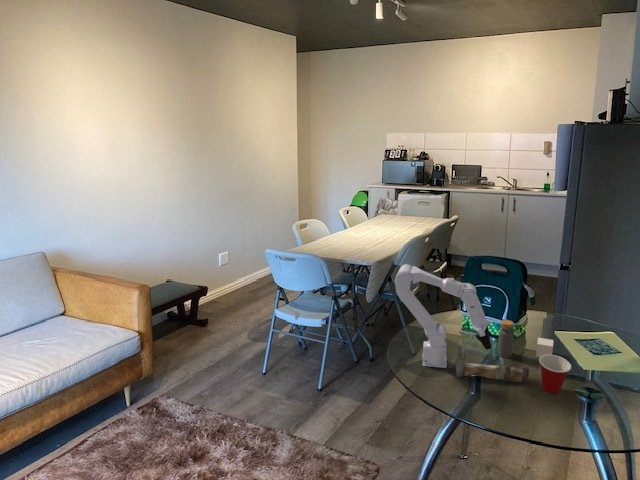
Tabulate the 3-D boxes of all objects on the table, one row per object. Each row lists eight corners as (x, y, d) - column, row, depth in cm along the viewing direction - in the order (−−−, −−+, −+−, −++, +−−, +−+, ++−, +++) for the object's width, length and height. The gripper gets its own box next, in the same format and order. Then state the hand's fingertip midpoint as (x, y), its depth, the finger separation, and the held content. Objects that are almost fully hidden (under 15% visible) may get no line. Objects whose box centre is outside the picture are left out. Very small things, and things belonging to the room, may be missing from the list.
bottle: (513, 358, 206) (516, 325, 202) (498, 357, 207) (501, 324, 203) (510, 351, 212) (513, 319, 207) (496, 350, 213) (499, 318, 209)
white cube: (535, 356, 207) (537, 343, 206) (536, 350, 212) (537, 337, 211) (551, 359, 205) (553, 346, 203) (552, 352, 210) (553, 339, 208)
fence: (503, 381, 190) (504, 368, 189) (502, 377, 193) (503, 364, 191) (528, 383, 188) (529, 370, 187) (527, 380, 191) (528, 367, 189)
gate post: (455, 376, 194) (456, 363, 193) (455, 372, 197) (456, 360, 195) (463, 377, 194) (464, 364, 192) (463, 373, 196) (463, 360, 195)
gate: (464, 376, 194) (465, 364, 193) (464, 373, 196) (464, 362, 194) (498, 379, 191) (499, 367, 190) (497, 377, 193) (498, 365, 191)
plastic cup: (554, 402, 177) (558, 372, 174) (529, 387, 186) (532, 359, 183) (574, 393, 182) (578, 364, 178) (549, 379, 191) (552, 351, 188)
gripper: (487, 318, 185) (499, 350, 188) (485, 303, 199) (496, 333, 201) (469, 323, 188) (481, 354, 190) (467, 308, 201) (479, 338, 203)
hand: (487, 344), depth 196 cm, fingers open, 7 cm apart
